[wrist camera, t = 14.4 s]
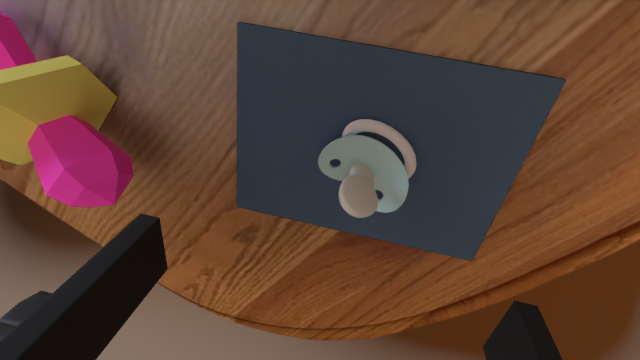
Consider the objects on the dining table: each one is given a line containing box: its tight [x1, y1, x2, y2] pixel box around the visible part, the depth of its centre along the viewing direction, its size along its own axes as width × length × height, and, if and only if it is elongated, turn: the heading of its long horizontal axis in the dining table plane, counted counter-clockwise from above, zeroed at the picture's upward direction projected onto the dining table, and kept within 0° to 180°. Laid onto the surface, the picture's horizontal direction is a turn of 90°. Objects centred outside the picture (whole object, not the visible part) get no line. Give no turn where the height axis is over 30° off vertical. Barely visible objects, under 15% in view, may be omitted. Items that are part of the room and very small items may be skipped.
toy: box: [0, 12, 133, 207], centre depth 25 cm, size 10×18×10 cm, turn 46°
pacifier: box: [318, 119, 417, 218], centre depth 23 cm, size 7×6×6 cm
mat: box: [237, 22, 566, 261], centre depth 26 cm, size 22×16×1 cm
